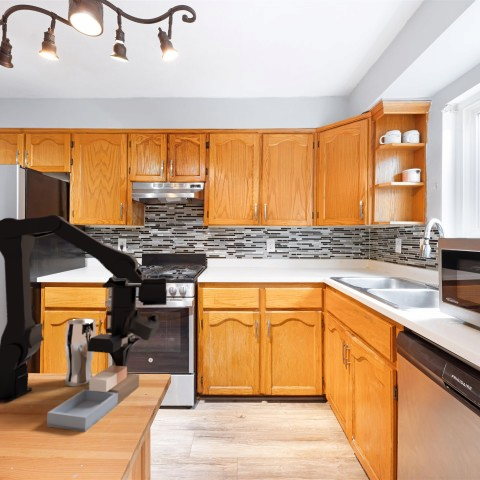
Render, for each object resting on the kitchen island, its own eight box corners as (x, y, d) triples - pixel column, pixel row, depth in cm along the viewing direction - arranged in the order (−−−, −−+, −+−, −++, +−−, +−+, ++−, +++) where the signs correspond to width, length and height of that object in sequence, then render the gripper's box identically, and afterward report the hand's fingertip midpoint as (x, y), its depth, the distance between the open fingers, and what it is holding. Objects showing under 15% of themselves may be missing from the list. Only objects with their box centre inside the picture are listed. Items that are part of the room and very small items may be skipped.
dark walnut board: (84, 400, 68) (84, 386, 68) (108, 383, 76) (109, 371, 76) (117, 404, 66) (118, 390, 66) (138, 386, 75) (139, 374, 75)
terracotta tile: (100, 382, 70) (101, 371, 70) (111, 375, 74) (111, 365, 74) (117, 384, 69) (117, 373, 69) (126, 377, 73) (126, 366, 73)
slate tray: (46, 426, 57) (47, 412, 57) (84, 400, 68) (84, 388, 68) (85, 431, 56) (85, 417, 56) (117, 404, 66) (118, 392, 66)
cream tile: (89, 390, 66) (89, 378, 66) (100, 382, 70) (101, 371, 70) (106, 392, 65) (106, 380, 65) (116, 384, 69) (117, 373, 69)
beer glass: (56, 383, 76) (59, 321, 77) (82, 373, 82) (85, 317, 83) (74, 389, 73) (77, 325, 73) (100, 379, 79) (102, 320, 79)
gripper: (134, 315, 64) (132, 391, 64) (170, 301, 83) (168, 360, 82) (86, 312, 66) (83, 386, 66) (131, 299, 85) (129, 356, 84)
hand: (121, 370), depth 74 cm, fingers closed
